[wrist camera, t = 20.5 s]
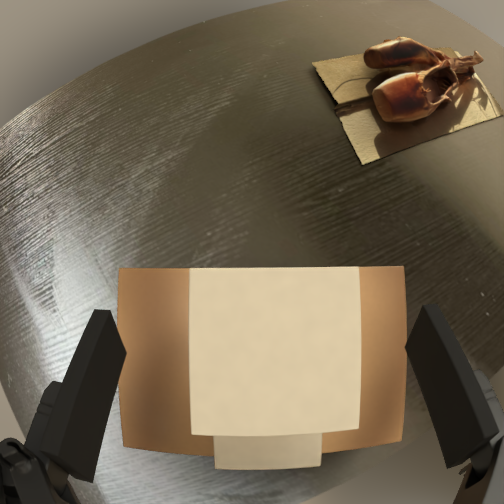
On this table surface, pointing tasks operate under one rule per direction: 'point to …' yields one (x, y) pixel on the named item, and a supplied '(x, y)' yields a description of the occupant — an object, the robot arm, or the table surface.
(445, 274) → the table surface
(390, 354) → the shoe shelf
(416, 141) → the ballet pointe shoes
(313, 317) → the beige block black base
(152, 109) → the table surface
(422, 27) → the table surface
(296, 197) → the table surface
